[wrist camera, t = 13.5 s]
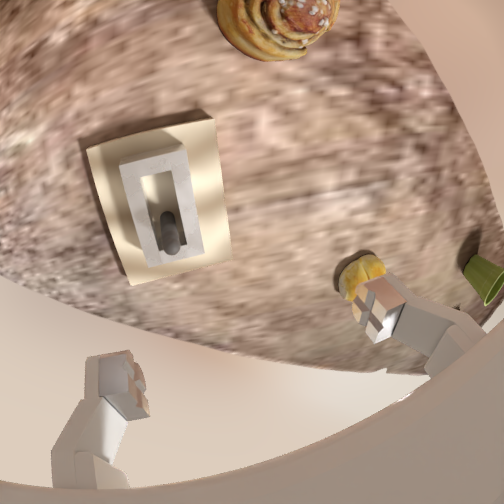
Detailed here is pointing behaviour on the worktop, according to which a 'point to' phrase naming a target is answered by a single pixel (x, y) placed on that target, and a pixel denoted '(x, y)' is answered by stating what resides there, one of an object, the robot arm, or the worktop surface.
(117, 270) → the worktop surface
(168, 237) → the keeper stand
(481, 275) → the plant pot
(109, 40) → the worktop surface
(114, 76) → the worktop surface
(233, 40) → the pastry
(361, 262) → the bread roll
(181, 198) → the hollow rectangular frame
